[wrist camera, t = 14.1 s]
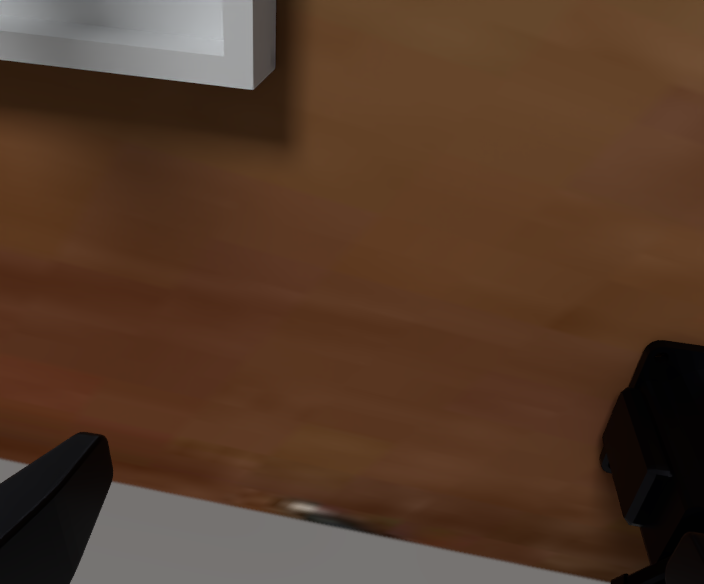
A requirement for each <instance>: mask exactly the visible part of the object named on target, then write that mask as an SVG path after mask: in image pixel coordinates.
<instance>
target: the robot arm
mask: <svg viewBox="0 0 704 584" xmlns="http://www.w3.org/2000/svg"><path fill="white" fill-rule="evenodd" d="M659 353H665V355H663V356H661V357H655V356H656V355H657V354H659ZM603 442H604V447H603V450H602V452H601V455H600V462H601V466H602V468H603V470H604V471H606V472H608V473H611V474H612V476H613V479H614V483H615V487H616V491H617V494H618V498H619V502H620V506H621V510H622V513H623V517H624V519H625V520H626V521H627V523H628V524H629V525H633V526H639V527H640V530H641V534H642V537H643V541H644V544H645V548H646V551H647V555H648V558H649V562H650V565H649V566H647V567H645V568H643V569H641V570H639V571H637V572H635V573H633V574H631V575H628V574H623V575H621V576H619V577H617V578H615V579H613V580H611V584H704V346H700V345H693V344H686V343H679V342H672V341H665V340H657V341H654V342H652V343H650V344H649V345H647V347H646V348H645V350H644V352H643V354H642V357H641V359H640V361H639V364H638V366H637V369H636V371H635V373H634V376H633V378H632V381H631V383H630V385H629V387H627V388H625V389H624V390H623V391H622V392H621V393H620V396H619V398H618V400H617V403H616V405H615V408H614V410H613V413H612V415H611V417H610V420H609V422H608V425H607V427H606V429H605V432H604V434H603ZM112 478H113V466H112V461H111V456H110V450H109V445H108V441H107V439H106V437H105V436H104V435H100V434H94V433H88V432H80V433H77V434H75V435H73V436H72V437H70V438H69V439H67V440H66V441H64V442H63V443H61V444H60V445H58V446H57V447H55V448H54V449H52V450H51V451H49V452H48V453H46V454H45V455H43V456H41V457H40V458H38V459H37V460H35V461H34V462H32V463H31V464H29V465H28V466H26V467H25V468H23V469H22V470H20V471H19V472H17V473H16V474H14V475H13V476H11V477H10V478H8V479H7V480H5V481H4V482H2V483H0V584H70V582H71V580H72V578H73V576H74V574H75V572H76V569H77V567H78V565H79V562H80V560H81V557H82V555H83V553H84V550H85V548H86V545H87V543H88V540H89V538H90V535H91V533H92V530H93V528H94V525H95V523H96V520H97V518H98V515H99V513H100V510H101V508H102V505H103V503H104V500H105V498H106V495H107V493H108V490H109V488H110V485H111V482H112Z"/></svg>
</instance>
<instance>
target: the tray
mask: <svg viewBox="0 0 704 584" xmlns="http://www.w3.org/2000/svg"><path fill="white" fill-rule="evenodd" d="M275 51H276V0H0V60H7V61H15V62H23V63H32V64H40V65H49V66H57V67H65V68H74V69H82V70H90V71H99V72H107V73H115V74H124V75H132V76H141V77H149V78H157V79H166V80H174V81H182V82H191V83H199V84H207V85H216V86H224V87H233V88H241V89H249V90H254V89H255V88H256V87H257V86H258V85H259V84H260V83H261V82H262V81H263V80H264V79H265V78H266V77H267V76H268V75H269V74H270V73H271V72H273V71H274V70H275Z"/></svg>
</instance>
